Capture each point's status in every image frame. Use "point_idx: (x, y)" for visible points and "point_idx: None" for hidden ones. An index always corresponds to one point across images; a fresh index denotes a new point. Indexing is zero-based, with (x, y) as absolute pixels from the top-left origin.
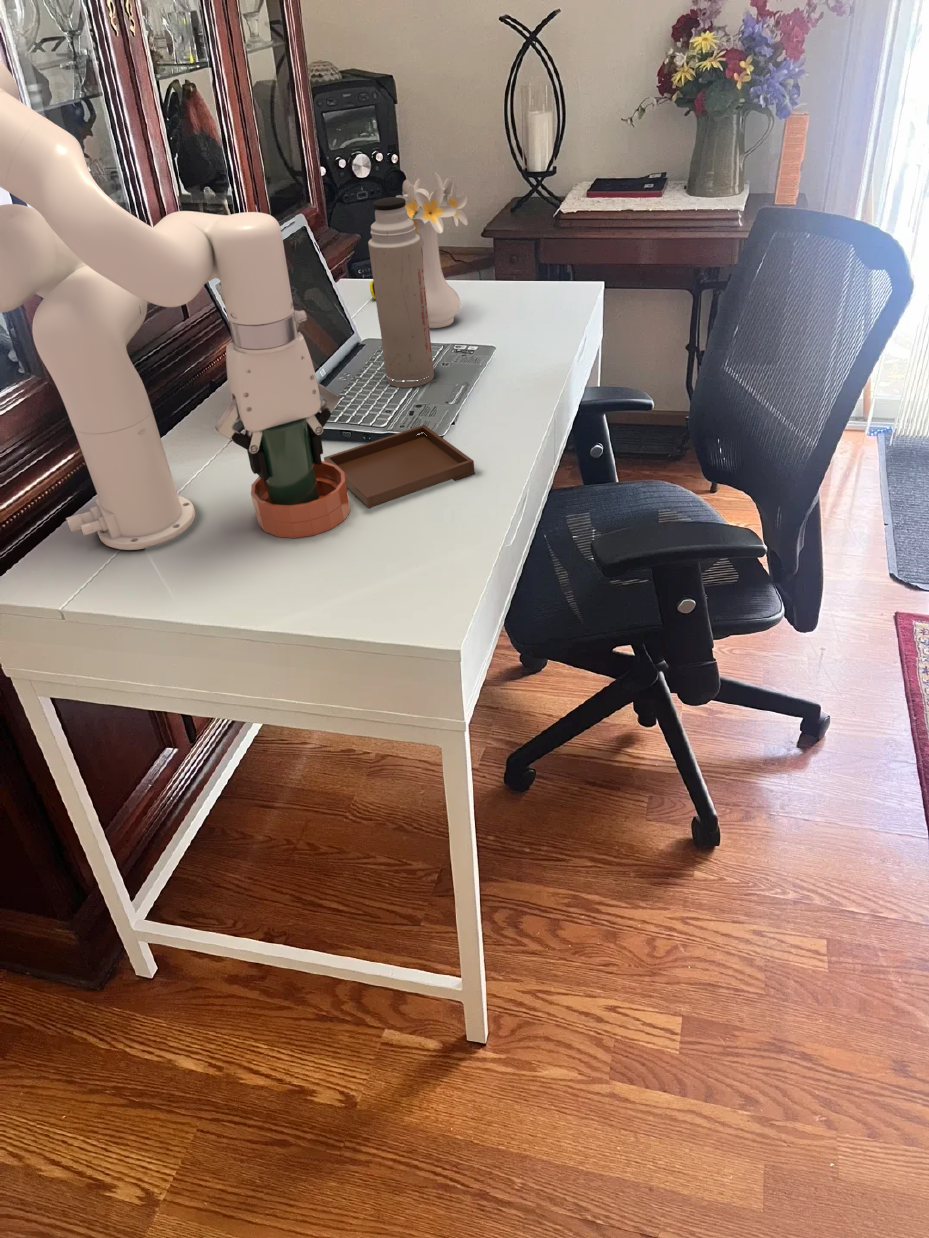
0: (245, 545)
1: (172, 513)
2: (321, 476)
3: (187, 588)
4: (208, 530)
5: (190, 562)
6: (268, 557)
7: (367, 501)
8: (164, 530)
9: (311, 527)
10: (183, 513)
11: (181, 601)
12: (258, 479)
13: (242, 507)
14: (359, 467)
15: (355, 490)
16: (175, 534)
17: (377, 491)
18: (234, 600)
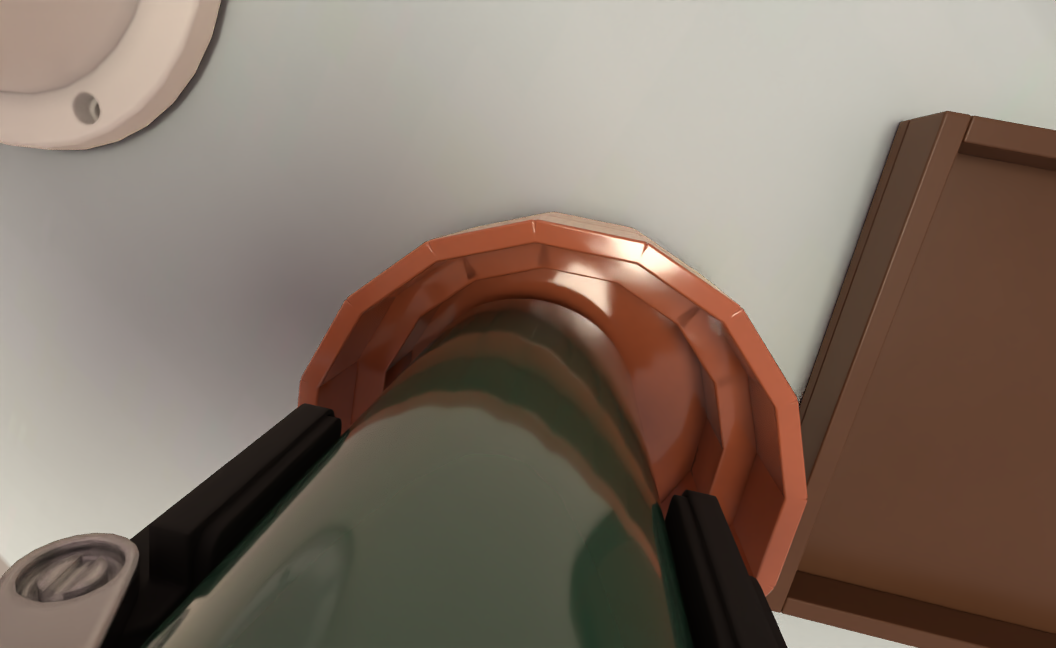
0: (289, 392)
1: (44, 60)
2: (739, 363)
3: (57, 455)
4: (223, 185)
5: (103, 334)
6: None
7: None
8: (38, 100)
9: None
10: (141, 21)
11: (27, 496)
12: (400, 279)
13: (407, 123)
14: (1011, 273)
15: None
16: (84, 145)
17: (870, 513)
18: None
